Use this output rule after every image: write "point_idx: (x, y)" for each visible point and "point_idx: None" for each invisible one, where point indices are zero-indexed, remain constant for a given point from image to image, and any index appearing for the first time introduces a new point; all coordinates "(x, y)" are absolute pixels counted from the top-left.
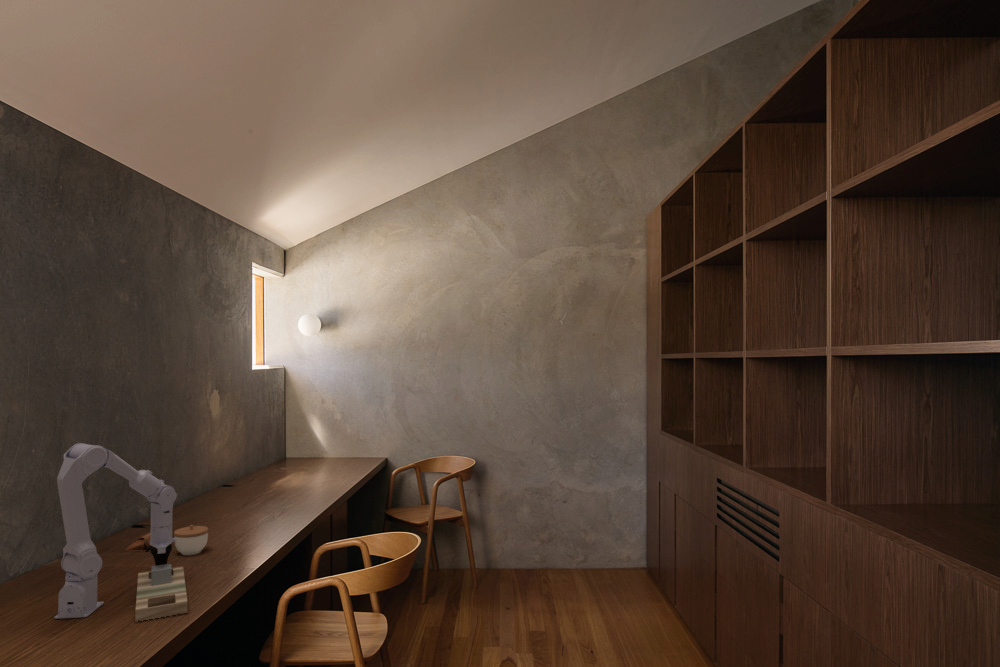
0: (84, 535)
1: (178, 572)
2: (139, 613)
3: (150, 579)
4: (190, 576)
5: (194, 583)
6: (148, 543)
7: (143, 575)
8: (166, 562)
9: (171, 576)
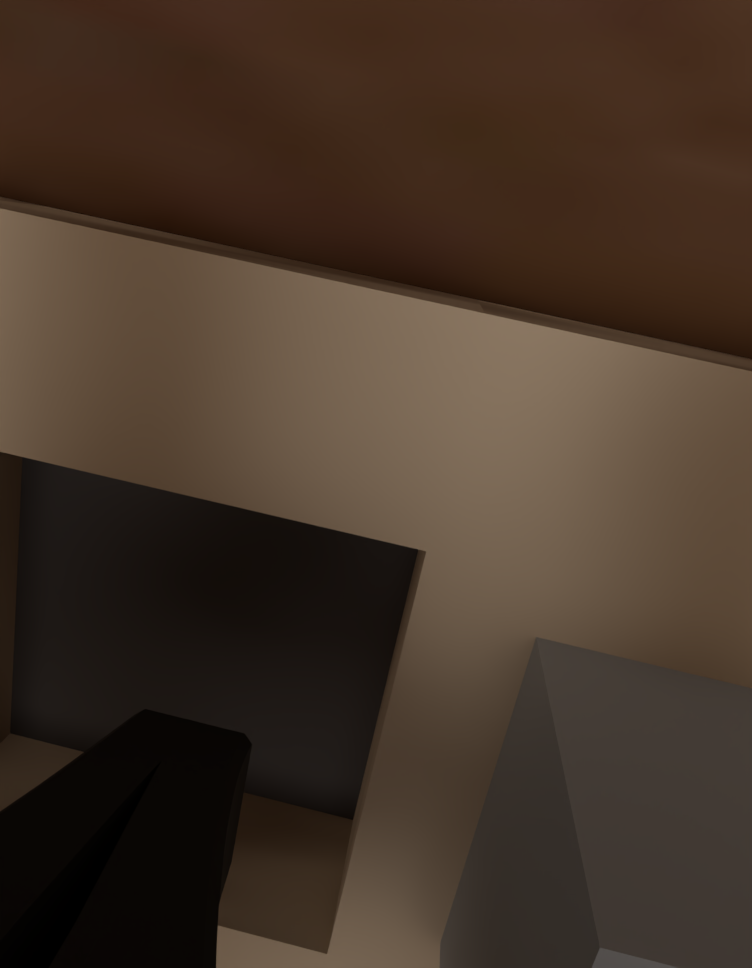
0: None
1: (278, 401)
2: None
3: (378, 941)
4: (75, 57)
5: (599, 99)
6: None
7: None
8: (216, 943)
9: (485, 611)
